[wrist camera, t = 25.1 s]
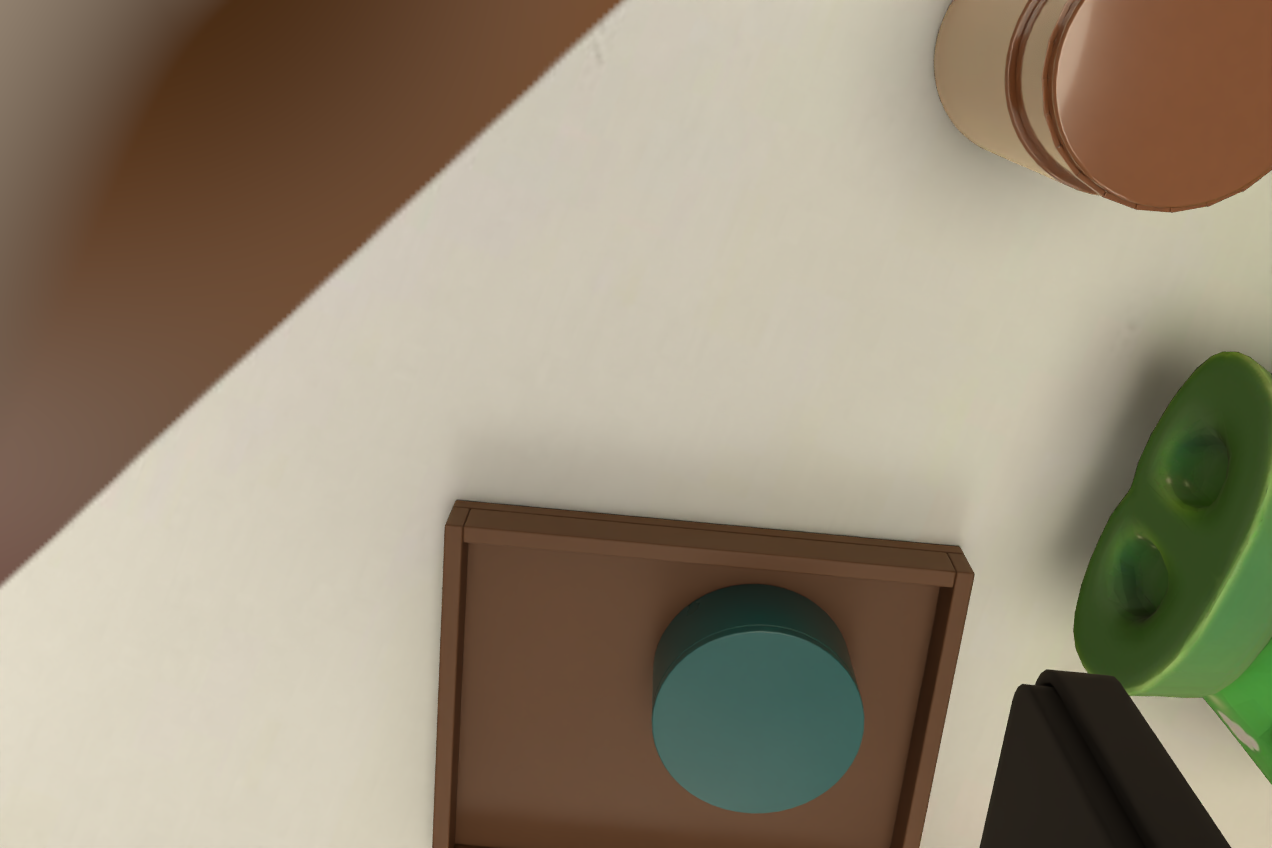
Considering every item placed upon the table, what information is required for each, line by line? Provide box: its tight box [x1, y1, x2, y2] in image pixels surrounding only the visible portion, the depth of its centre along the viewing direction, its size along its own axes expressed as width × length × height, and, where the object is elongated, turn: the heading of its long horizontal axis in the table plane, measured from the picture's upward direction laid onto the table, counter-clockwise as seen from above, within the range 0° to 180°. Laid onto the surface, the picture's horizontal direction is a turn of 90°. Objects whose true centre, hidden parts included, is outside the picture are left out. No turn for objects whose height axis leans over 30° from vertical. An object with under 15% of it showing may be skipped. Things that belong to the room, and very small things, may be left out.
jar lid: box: [652, 584, 864, 813], centre depth 40 cm, size 7×7×3 cm
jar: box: [934, 0, 1272, 213], centre depth 30 cm, size 6×6×11 cm
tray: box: [432, 500, 975, 848], centre depth 42 cm, size 17×14×2 cm
